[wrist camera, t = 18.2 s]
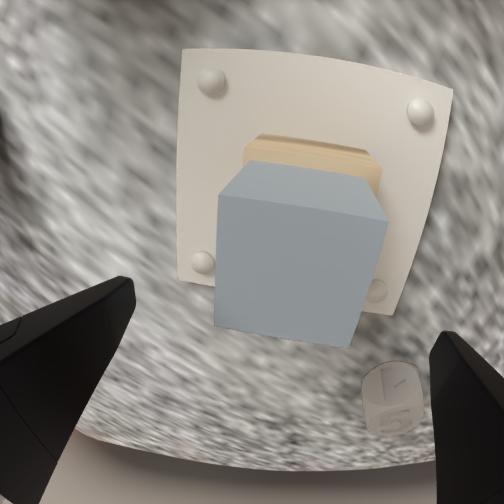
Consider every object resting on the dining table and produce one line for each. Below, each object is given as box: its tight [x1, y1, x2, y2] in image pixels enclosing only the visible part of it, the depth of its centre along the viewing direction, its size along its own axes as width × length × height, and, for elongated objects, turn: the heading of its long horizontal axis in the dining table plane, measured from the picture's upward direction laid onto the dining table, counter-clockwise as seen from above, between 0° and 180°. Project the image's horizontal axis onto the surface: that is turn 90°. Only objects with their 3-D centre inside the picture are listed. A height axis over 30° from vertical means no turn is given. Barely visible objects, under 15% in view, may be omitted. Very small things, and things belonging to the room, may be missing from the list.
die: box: [361, 361, 425, 436], centre depth 24 cm, size 5×5×5 cm
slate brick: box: [214, 160, 389, 348], centre depth 12 cm, size 5×5×5 cm
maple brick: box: [242, 133, 382, 197], centre depth 17 cm, size 6×6×5 cm
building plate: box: [176, 48, 453, 316], centre depth 19 cm, size 16×16×2 cm
